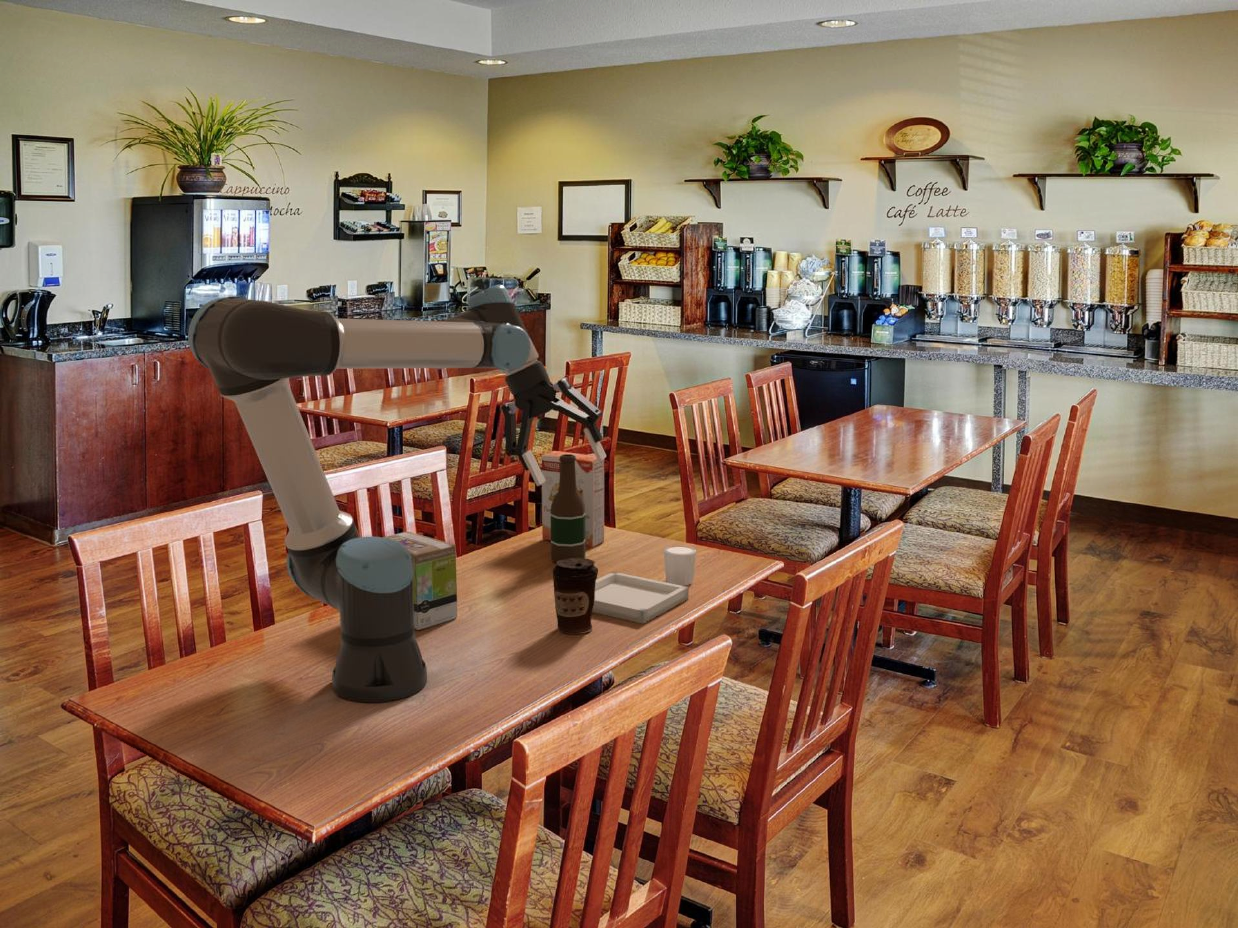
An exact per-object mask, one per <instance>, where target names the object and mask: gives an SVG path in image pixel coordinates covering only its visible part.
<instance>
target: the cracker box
mask: <svg viewBox="0 0 1238 928" xmlns="http://www.w3.org/2000/svg"><path fill="white" fill-rule="evenodd" d="M564 454H572V455H574V456H575V457H576V460H575V471H576V485H577V490H578V492H579V493H580V495H581V496H582V498H583V501H584V503H585V532H586V548H591V549H593V548H595V547H597V546H598V545H600V544H602V543H605V458H604V459H603V460H602V461H600V462H598V460H597V458H596V456H595V455H590V454H583V453H574V452H568V451H567V452H566V451H560V450H559V451H557V450H552V451H550V452H549V451H548V452H546V453H544V454H542V455H541V472H542V474H543V476H544V478H545V480H546V481H545V482H543V483H542V484H541V519H542V520H541V523H542V524H541V525H542V526H541V527H542V528H541V530H542V531H541V532H542V535H541V536H542V538H541V539H542V540H546V541H550V542H551V505H552V502H553V499H554V497H555V496H556V494H557V493H558V490H559V481H560V463H561V462H560V461H559V459H560V456H561V455H564Z"/></svg>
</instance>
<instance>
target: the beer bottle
mask: <svg viewBox="0 0 1238 928" xmlns="http://www.w3.org/2000/svg"><path fill="white" fill-rule="evenodd" d="M575 460H576V457H575V456H574V455H572V454H564V455H561V456H560V459H559V461H560V462H561V463H560V481H559V490H558V493H557V494H556V496H555V497H554V499H553V502H552V505H551V541H550V558H551V559H550V560H551V562H552V563H554V564H556V562H557V561H559V560H566V559H569V558H586V550H587V549H586V548H587V547H586V532H585V503H584V501H583V498H582V496H581V495H580V493H579V492H578V490H577V485H576V471H575Z"/></svg>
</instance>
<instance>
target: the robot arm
mask: <svg viewBox="0 0 1238 928" xmlns="http://www.w3.org/2000/svg"><path fill="white" fill-rule="evenodd" d="M467 305H468V309H467V310H466V311H463V312H461V313H459V314H457V315H454V316H452V317H451V316H450V317H449V318H447V319H445V320H442V321H431V320H429V321H428V320H403V319H401V320H399V319H372V318H371V319H370V318H369V319H367V318H366V319H362V318H361V319H360V318H338V317H337V318H336V316H335V315H334V314H333V313H332V312H330V311H326V310H309V309H303V308H297V307H293V306H288V305H285V304H279V303H275V302H272V301H267V300H258V299H257V300H255V299H247V298H245V297H243V296H235V295H232V296H231V295H230V296H227V297H226V296H224V297H218V298H213V299H211V300H210V301H208V302H206V303H204V304H203V305H202V306H201V307H200V308H199V309H197V311H196V312H195V313H194V315H193V317H192V318H191V321H190V324H189V326H188V333H187V336H188V337H187V339H188V344H189V349H190V351H191V353H192V354H193V357H194V358H195V359H196V360H197V361H198V362H199V363H200V364H201V365H202V366H203V367H205V368H206V369H209V372H210V374H211V376H212V379H213V381H214V382H215V383H214V384H215V385H216V387H217V389H218V390H217V391H218V392H219V394H220V396H221V397H222V398H225V399H228V400H230V401H233V402H234V403H235V406H236V408H237V411H238V413H239V416H240V418H241V419H242V423H243V424H244V427H245V429H246V432H247V435H248V437H249V438H250V441H251V444H252V446H253V448H254V450H255V453H256V455H257V457H258V460H259V462H260V464H261V467H262V469H263V471H264V473H265V476H266V479H267V481H268V482H269V485H270V487H271V489H272V492H273V495H274V498H275V499H276V501H277V505H278V506H279V509H280V511H281V513H282V516H283V518H284V520H285V522H286V525H287V528H288V532H287V534H286V536H285V539H284V544H285V546H286V549H287V551H288V553H287V555H286V568H287V572H288V575H289V577H290V579H291V581H292V582H293V584H294V585H295V586H296V587H297V588H298V589H299V590H300V591H301V592H302V593H304V594H305V595H307V596H309V597H310V598H313V600H314V599H315V600H317V601H320V602H322V603H323V604H326V605H327V606H329V607H332V608H333V609H335V610H337V611H339V621H340V623H339V624H340V639H341V640H340V645H339V646H340V647H339V649H338V653H337V657H336V660H335V666H334V668H333V671H332V672H331V673H332V674H331V683H332V684H331V685H332V687H331V688H332V691H333V692H334V694H335V695H336V696H338V697H340V698H342V699H344V700H349V701H352V702H357V703H359V702H360V703H383V702H391V701H397V700H400V699H403V698H406V697H409V696H412V695H414V694H416V693H418V692H419V691H421V690H422V689H424V688H425V686H426V685H427V683H428V670H427V668H428V667H427V665H426V662H425V661H424V660H423V655H422V652H421V650H420V646H419V644H418V642H417V638H416V634H415V629H414V604H413V566H412V561H411V555H410V552H409V550H408V549H407V548H406V547H405V546H404V545H403V544H401V543H400V542H398V541H395V540H392V539H389V538H384V539H381V538H382V537H380V536H360V533H359V531H358V529H357V526H356V524H355V520H354V518H353V516H352V515H351V514H350V513H347V512H346V511H342V510H340V509H339V507H338V504H337V501H336V498H335V497H334V493H333V492H332V489H331V487H330V484H329V482H328V480H327V477H326V476H327V475H326V474H325V472H324V470H323V466H322V464H321V462H320V459H319V456H318V454H317V451H316V449H315V447H314V444H313V442H312V439H311V437H310V435H309V432H308V429H307V427H306V425H305V422H304V420H303V417H302V414H301V412H300V409H299V407H298V405H297V402H296V400H295V397H294V394H293V392H292V389H291V387H290V385H289V380H290V378H292V379H293V378H302V377H317V376H318V377H321V376H322V377H323V376H324V377H326V376H331V375H333V374H334V373H335V372H336V370H340V369H341V370H343V369H345V370H346V369H348V370H349V369H350V370H351V369H353V370H357V369H359V370H360V369H361V370H362V369H363V370H364V369H365V370H366V369H370V370H371V369H437V370H443V369H462V368H463V369H466V368H467V369H471V368H472V369H499V371H500V373H501V375H505V377H504V381H505V383H506V385H507V387H508V389H509V391H510V393H511V395H512V396H513V398H514V401H512V402H511V401H508V402H506V403H504V404H503V405H501V412H502V413H503V416H504V436H505V454H506V456H508V457H511V456H517V457H518V459H519V461H520V463H521V465H522V467H523V469H524V470H525V471H526V472H527V471H529V473H530V475H531V477H532V478H533V479H532V480H533V481H534V484H535V485H536V487H539V486H542V483H543V482H545V481H546V480H545V478H544V476H543V474H542V469H541V468H540V465H539V464H538V461H537V459H536V458H535V456H534V453H533V451H532V450H531V449H530V450H528V448H527V447H528V444H529V439H530V438H529V437H530V434H531V430H532V426H533V425H532V424H533V420H534V419H536V418H538V417H539V416H541V415H543V414H544V415H545V414H547V413H549V412H551V411H554V412H558V413H561V414H562V415H564V416H566V417H568V418H569V419H572V420H574V421H575V422H577V423H578V424H581V425H583V426H584V429H583V432H584V435H585V437H586V439H587V441H588V443H589V445H590V447H591V449H592V451H593V454H594V456H596V458H597V460H598V462H600V461H602V460H603V459H604V460H605V458H606V457H607V454H606V452H605V450H604V447H603V445H602V444H601V441H602V440H603V435H602V434H601V431H600V429H599V427H598V425H597V424H598V423H597V421H598V420H599V419H600V418H601V417H602V416H603V412H602V410H601V409H599V408H598V407H597V406H595V404H593V403H592V402H591V401H590V400H588V399H587V398H586V397H585V396H584V395H583V394H582V393H580V391H578V390H577V389H575V388H574V387H573V385H572V384H571V382H570V380H569V379H568V377H564V376H563V377H562V378H561V379H559V380H558V381H557V382H556V383H552V381H551V380H550V377H549V374H548V372H547V370H546V368H545V366H544V364H543V361H541V360H538V358H539V353H538V351H537V349H536V347H535V345H534V343H533V341H532V339H531V337H530V335H529V333H528V330H527V328H526V327H525V324H524V321H523V320H522V318H521V315H520V313H519V311H518V309H517V307H516V303H515V302H514V300H513V298H512V297H511V295H510V292H508V290H507V288H506V287H505V286H504V285H502V284H496V285H493V286H490V287H488V288H486V289H484V290H481V291H480V292H477V293H476V294H473V295H472V296H470V297H468V299H467ZM557 391H558V392H559V393H562V394H563V395H564V396H565V397H566V398H568V400H570V402H571V403H574V404H575V405H576V406H577V407H574V406H573V405H571V404H569V403H567V402H565V400H563V399H562V398H560V397H558V396H556V395H557ZM517 409H518V410H520V411H521V412H522V413H521V414H522V415H521V419H520V420H521V421H520V422H521V424H520V427H519V433H518V436H517V414H516V413H517Z"/></svg>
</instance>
